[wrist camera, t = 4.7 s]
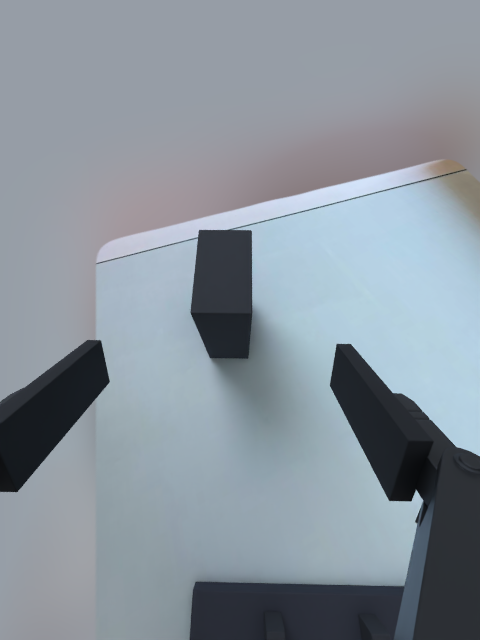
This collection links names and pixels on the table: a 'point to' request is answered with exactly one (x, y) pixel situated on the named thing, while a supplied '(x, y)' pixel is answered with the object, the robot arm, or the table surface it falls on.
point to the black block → (223, 292)
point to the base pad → (294, 611)
